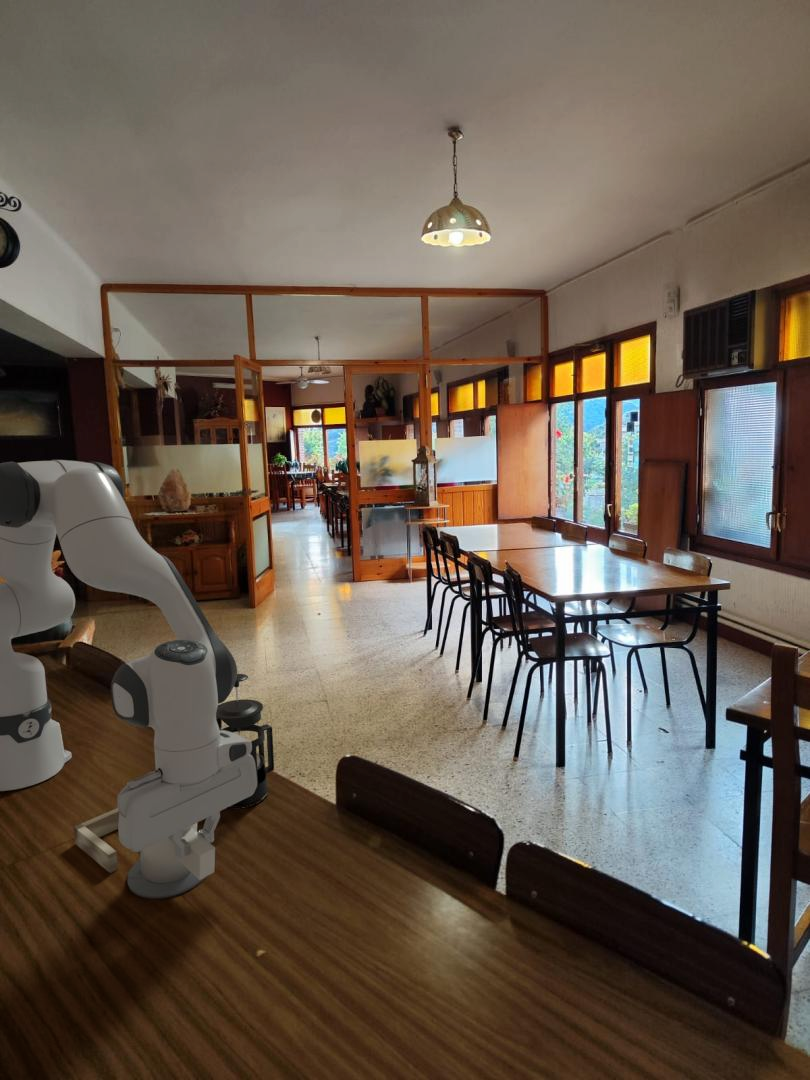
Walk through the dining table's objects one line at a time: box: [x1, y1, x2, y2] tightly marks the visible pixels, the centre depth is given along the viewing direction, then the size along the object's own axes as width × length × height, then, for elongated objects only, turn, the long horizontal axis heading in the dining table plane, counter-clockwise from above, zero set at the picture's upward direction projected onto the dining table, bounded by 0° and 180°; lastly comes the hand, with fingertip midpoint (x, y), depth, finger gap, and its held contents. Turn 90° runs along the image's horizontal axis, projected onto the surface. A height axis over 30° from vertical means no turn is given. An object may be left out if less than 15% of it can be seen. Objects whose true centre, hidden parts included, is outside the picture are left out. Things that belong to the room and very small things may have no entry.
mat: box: [127, 858, 208, 900], centre depth 100 cm, size 12×12×1 cm
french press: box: [216, 673, 275, 809], centre depth 121 cm, size 12×9×23 cm
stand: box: [73, 807, 119, 874], centre depth 108 cm, size 12×12×3 cm
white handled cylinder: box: [140, 822, 216, 883], centre depth 97 cm, size 14×8×10 cm, turn 50°
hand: (195, 848), depth 94 cm, fingers closed on white handled cylinder, 2 cm apart
